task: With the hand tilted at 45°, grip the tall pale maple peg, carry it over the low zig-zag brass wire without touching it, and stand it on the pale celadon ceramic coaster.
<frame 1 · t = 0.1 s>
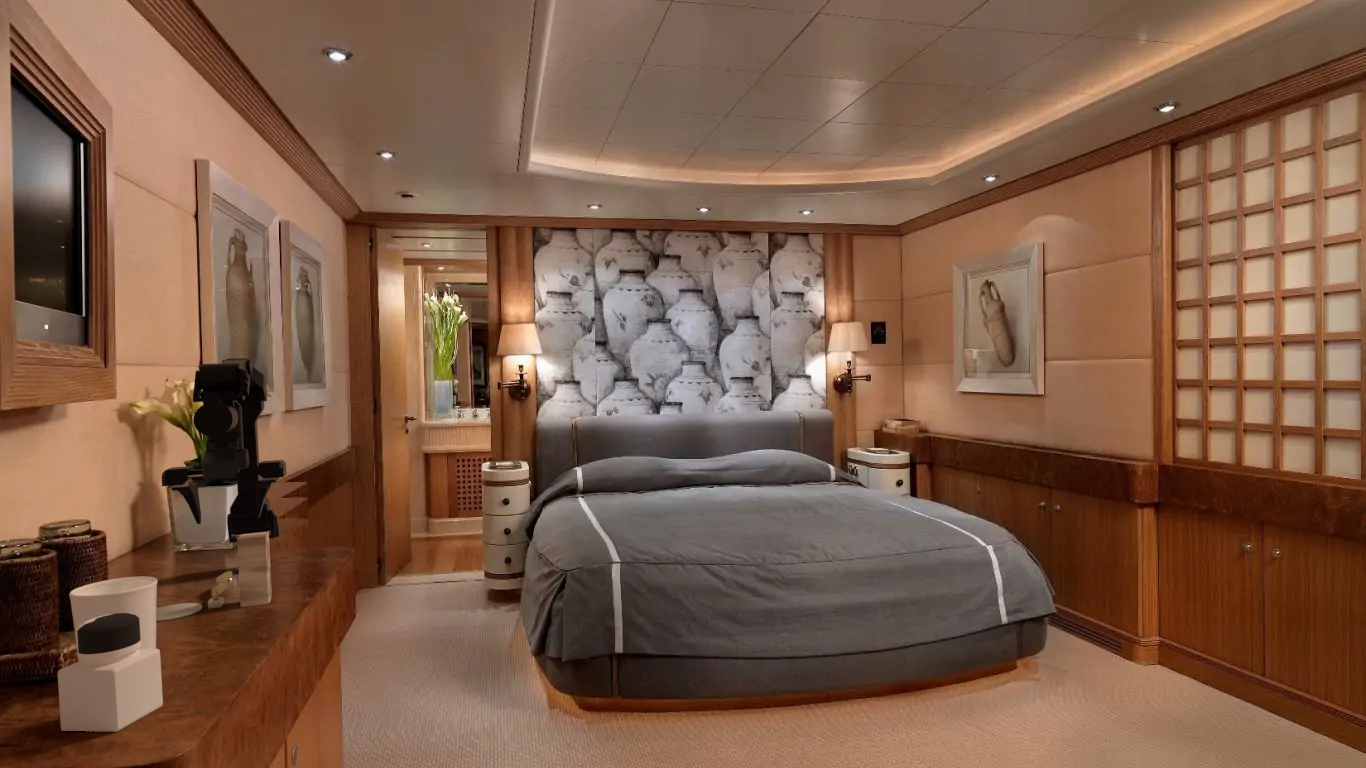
hand: (228, 521, 142), 15 cm above the table, tool pointing down, fingers open, 9 cm apart
medicine bottle: (113, 720, 94), on the table
maple peg: (256, 602, 142), on the table
brass wire: (223, 596, 147), on the table
candle holder: (119, 674, 109), on the table
coaster: (171, 613, 137), on the table
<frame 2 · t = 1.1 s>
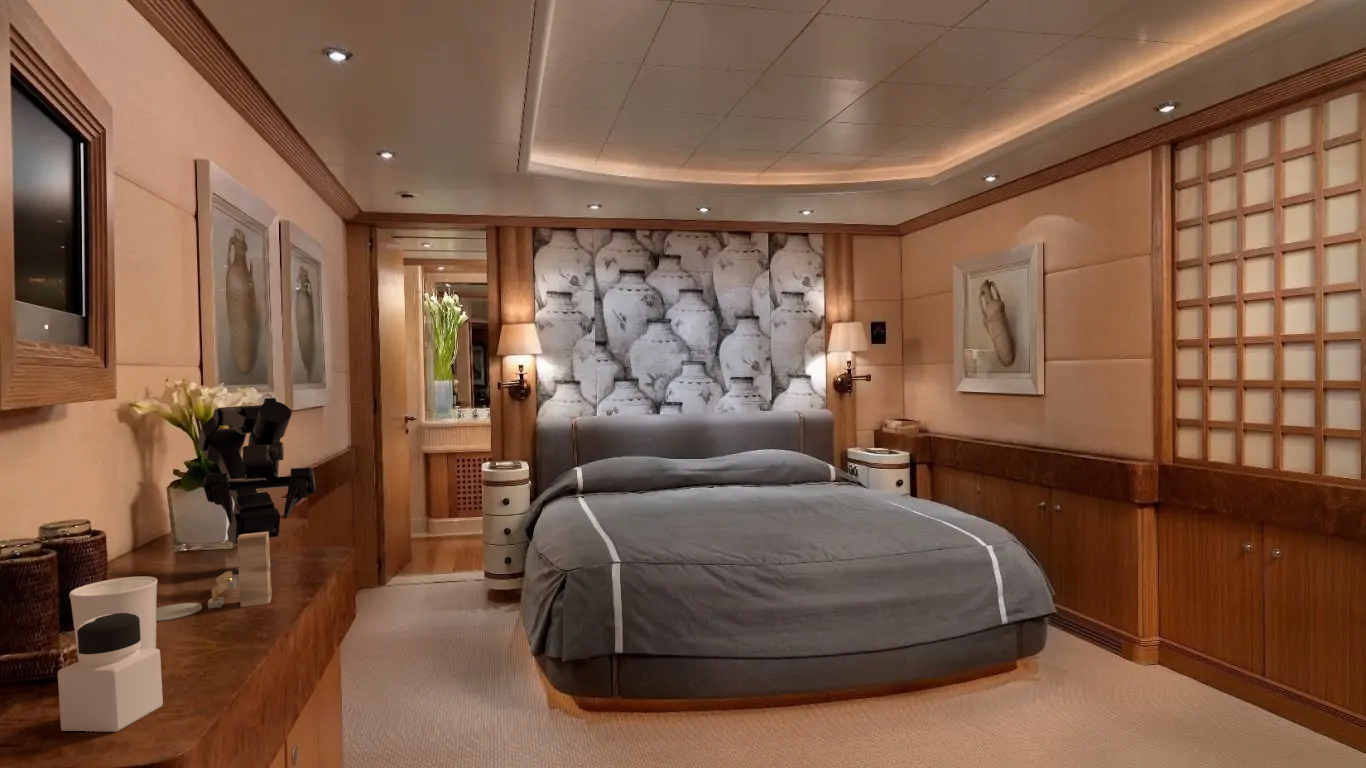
hand: (258, 520, 149), 13 cm above the table, tool tilted 45°, fingers open, 9 cm apart
nothing on the table moved.
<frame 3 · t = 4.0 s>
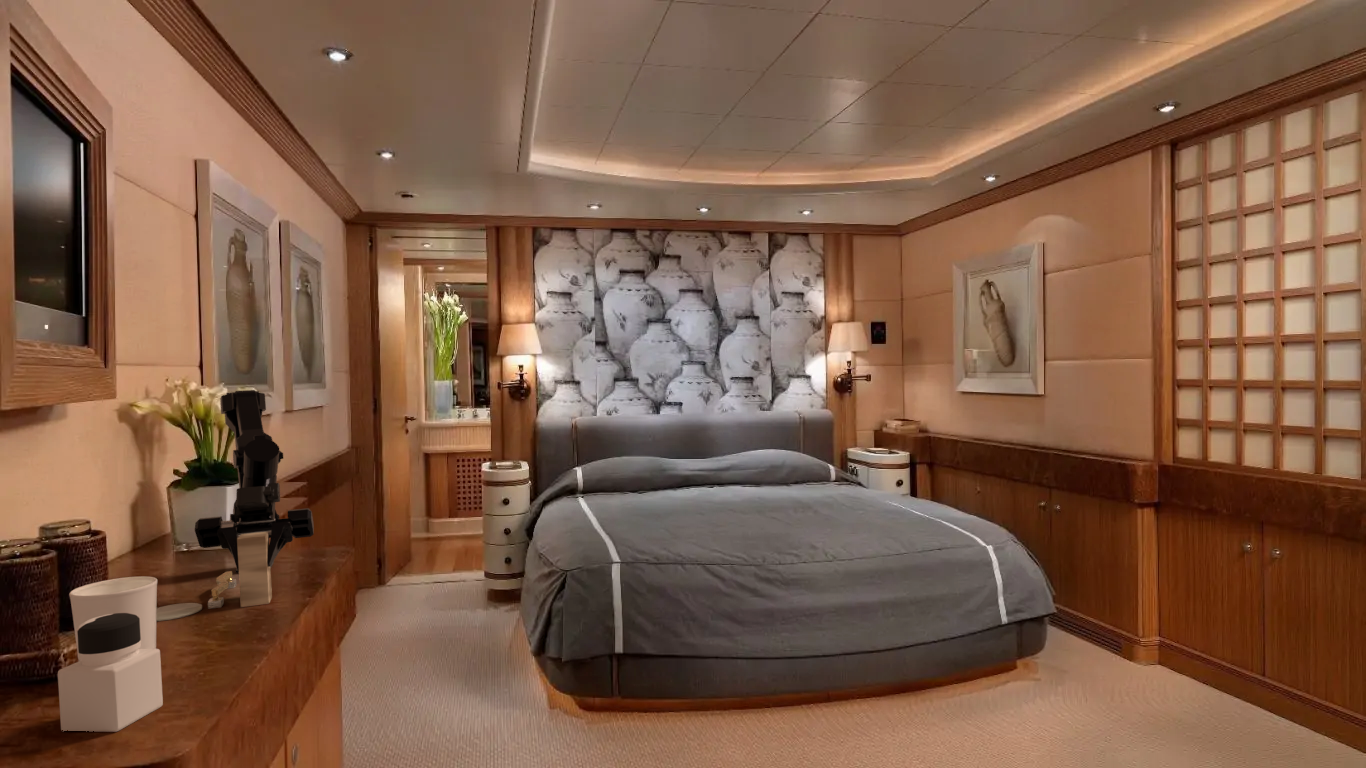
hand: (253, 567, 140), 7 cm above the table, tool tilted 45°, fingers closed on maple peg, 4 cm apart
maple peg: (256, 602, 142), on the table, touching gripper
everything else where it was.
when the fingers open (8 cm above the table, at t = 9.5 s): maple peg stays where it is, resting on coaster.
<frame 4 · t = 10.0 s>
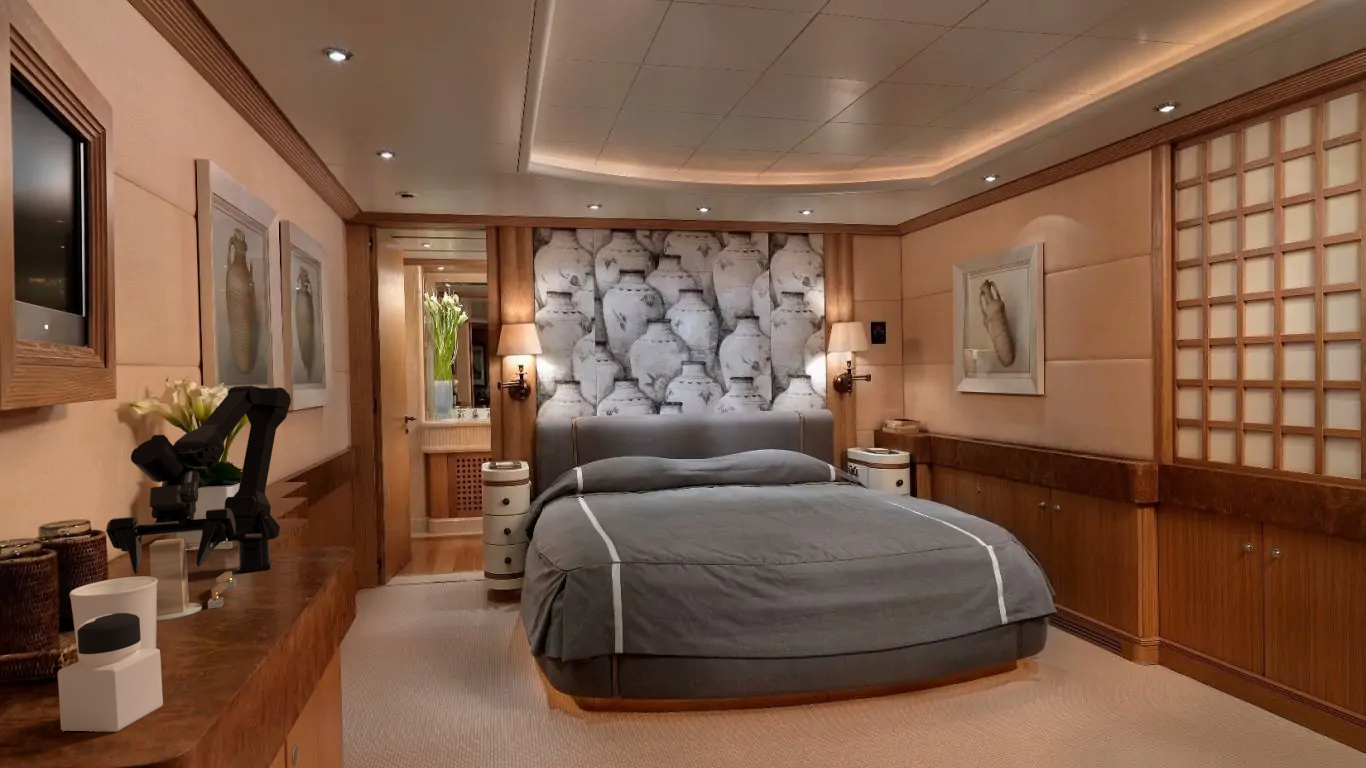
hand: (167, 568, 135), 8 cm above the table, tool tilted 45°, fingers open, 9 cm apart
maple peg: (171, 610, 137), resting on coaster
everything else where it was.
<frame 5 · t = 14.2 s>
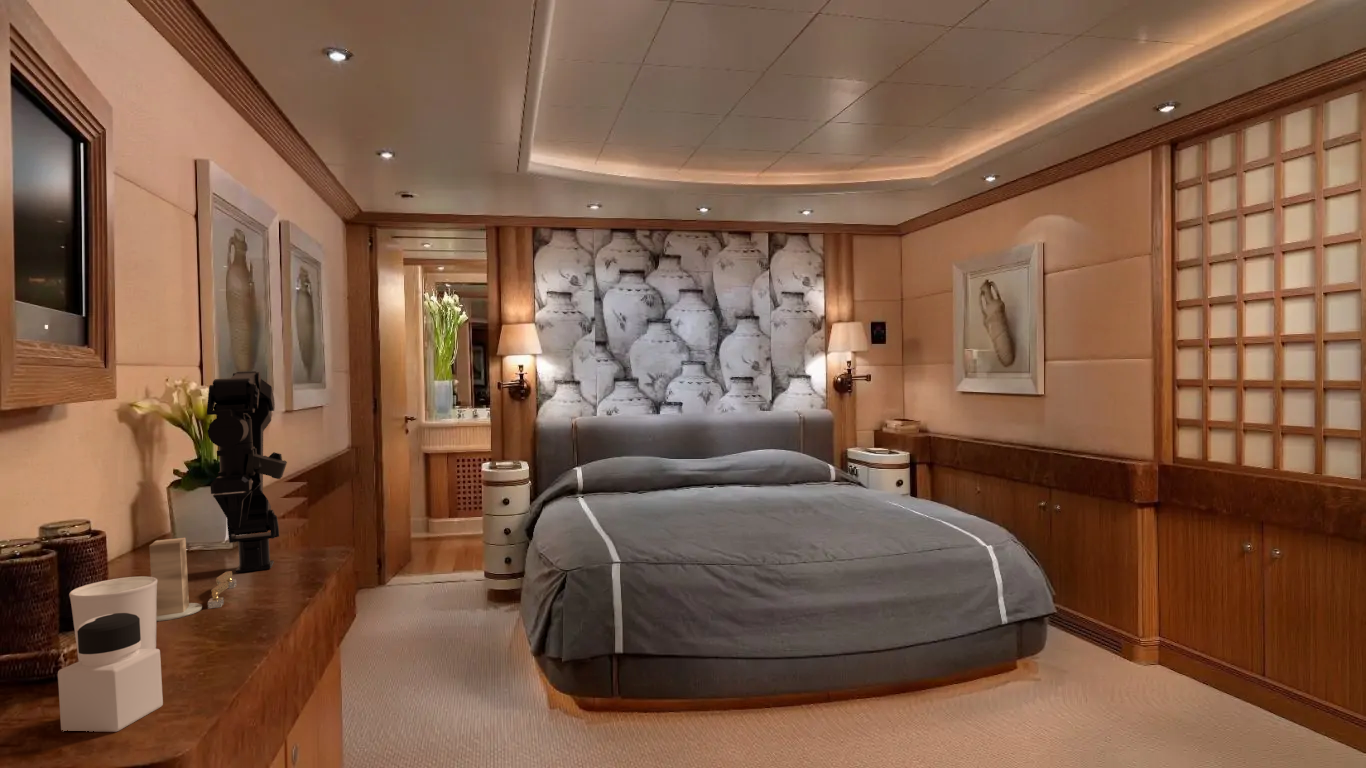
hand: (240, 524, 153), 12 cm above the table, tool pointing down, fingers open, 9 cm apart
nothing on the table moved.
at the end: maple peg 0.0 cm off-centre on the coaster, point 0.4 cm above the coaster's base; maple peg tilted 0°; brass wire moved 0.0 cm from its start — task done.
